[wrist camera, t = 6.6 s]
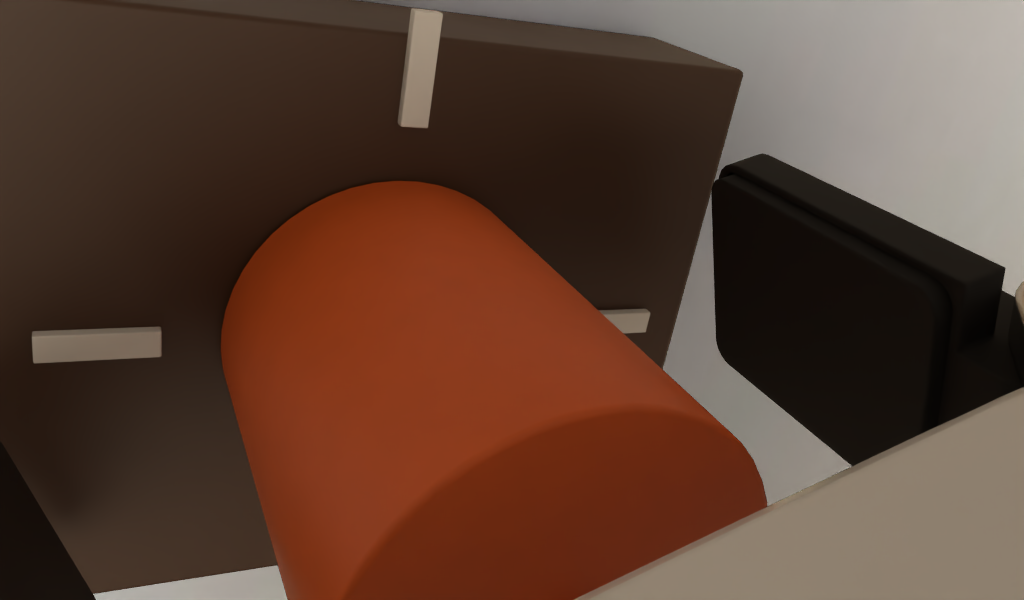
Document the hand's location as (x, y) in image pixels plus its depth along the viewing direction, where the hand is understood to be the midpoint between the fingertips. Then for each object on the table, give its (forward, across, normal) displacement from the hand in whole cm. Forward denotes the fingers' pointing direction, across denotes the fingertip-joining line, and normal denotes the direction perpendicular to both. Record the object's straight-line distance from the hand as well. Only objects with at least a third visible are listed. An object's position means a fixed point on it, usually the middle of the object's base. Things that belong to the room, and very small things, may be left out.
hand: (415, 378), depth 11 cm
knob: (+1, 0, 0) cm, 1 cm away
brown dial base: (+4, 0, 0) cm, 4 cm away
